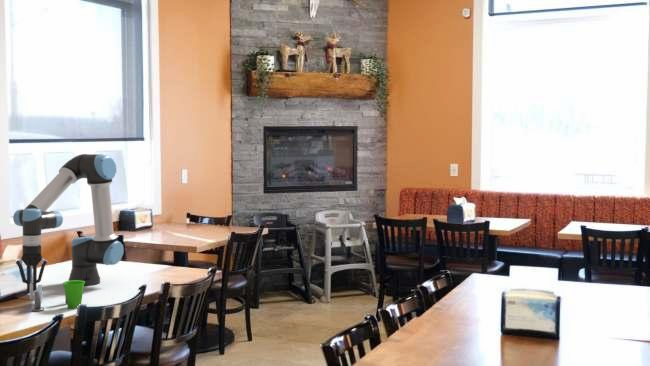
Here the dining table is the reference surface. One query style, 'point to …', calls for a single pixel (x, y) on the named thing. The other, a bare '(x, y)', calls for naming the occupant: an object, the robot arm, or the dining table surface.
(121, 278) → the dining table surface
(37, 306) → the gate
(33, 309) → the hinge base
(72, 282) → the cup
